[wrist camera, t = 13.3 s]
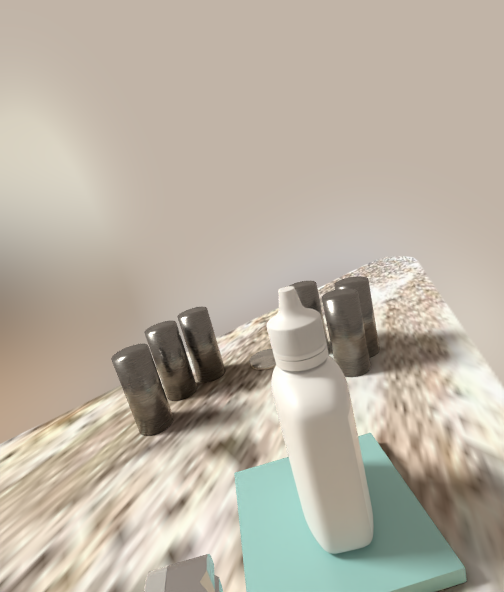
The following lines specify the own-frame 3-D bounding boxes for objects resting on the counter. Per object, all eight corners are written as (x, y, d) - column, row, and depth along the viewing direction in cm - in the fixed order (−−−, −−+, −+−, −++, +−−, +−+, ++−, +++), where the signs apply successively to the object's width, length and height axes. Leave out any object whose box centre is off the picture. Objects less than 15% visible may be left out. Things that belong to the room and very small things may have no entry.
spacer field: (136, 439, 31) (107, 365, 29) (152, 384, 40) (131, 325, 38) (398, 364, 32) (387, 287, 30) (355, 327, 41) (345, 266, 39)
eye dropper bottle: (386, 471, 20) (350, 264, 17) (369, 570, 16) (315, 311, 13) (312, 460, 23) (267, 274, 19) (277, 544, 18) (210, 318, 15)
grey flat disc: (261, 376, 36) (259, 369, 36) (245, 365, 40) (243, 358, 39) (291, 362, 38) (290, 355, 38) (274, 352, 41) (272, 345, 41)
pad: (256, 649, 15) (251, 635, 15) (237, 483, 23) (234, 473, 23) (466, 581, 15) (465, 567, 15) (372, 443, 24) (370, 432, 24)
